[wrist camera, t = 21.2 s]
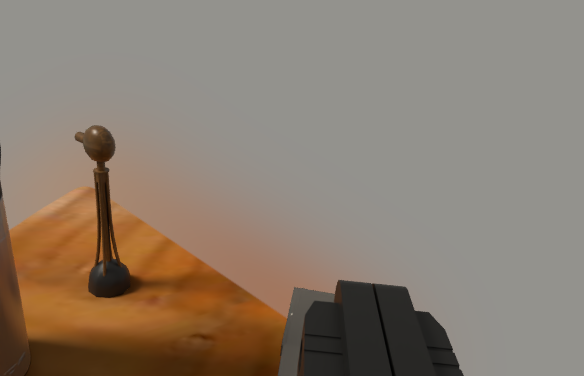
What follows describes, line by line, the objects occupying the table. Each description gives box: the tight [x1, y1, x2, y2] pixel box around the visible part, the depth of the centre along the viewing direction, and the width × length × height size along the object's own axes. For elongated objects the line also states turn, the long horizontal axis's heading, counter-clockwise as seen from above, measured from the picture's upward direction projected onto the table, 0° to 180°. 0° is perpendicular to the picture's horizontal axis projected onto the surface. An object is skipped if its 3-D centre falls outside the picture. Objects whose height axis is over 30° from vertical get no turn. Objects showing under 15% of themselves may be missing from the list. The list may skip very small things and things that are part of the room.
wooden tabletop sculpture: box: [75, 125, 130, 298], centre depth 50 cm, size 6×5×20 cm
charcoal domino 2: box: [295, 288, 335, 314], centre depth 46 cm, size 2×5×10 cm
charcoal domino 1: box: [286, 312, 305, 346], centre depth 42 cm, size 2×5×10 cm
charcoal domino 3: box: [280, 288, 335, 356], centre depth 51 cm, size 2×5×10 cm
